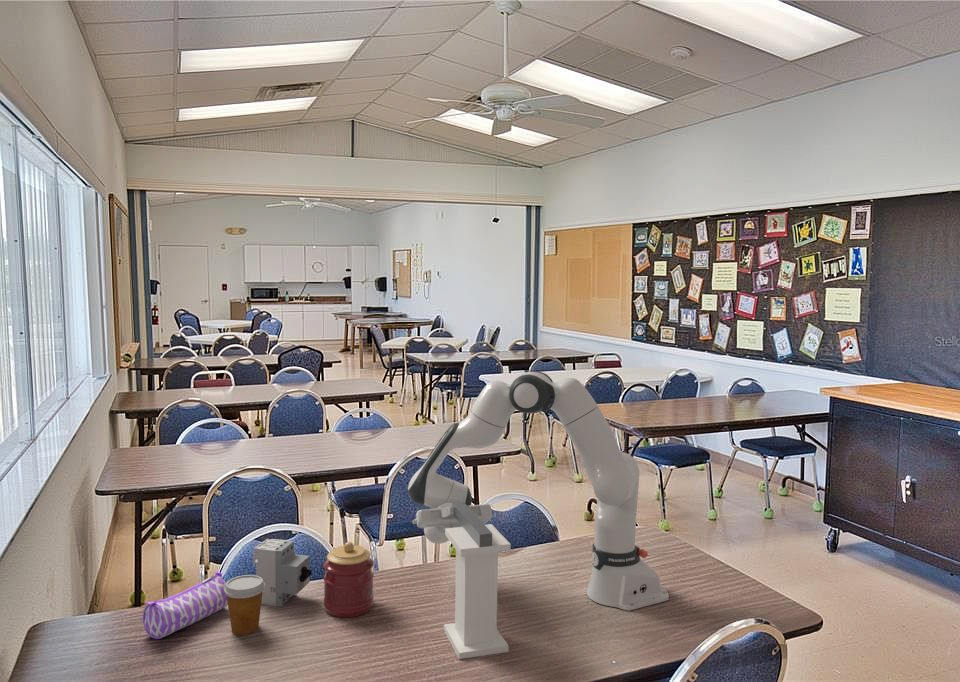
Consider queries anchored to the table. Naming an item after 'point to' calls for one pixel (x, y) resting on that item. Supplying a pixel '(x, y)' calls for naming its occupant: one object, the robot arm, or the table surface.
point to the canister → (348, 581)
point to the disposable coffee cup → (244, 603)
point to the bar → (472, 525)
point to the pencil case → (185, 607)
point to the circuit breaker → (280, 570)
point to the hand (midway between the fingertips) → (460, 509)
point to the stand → (476, 595)
